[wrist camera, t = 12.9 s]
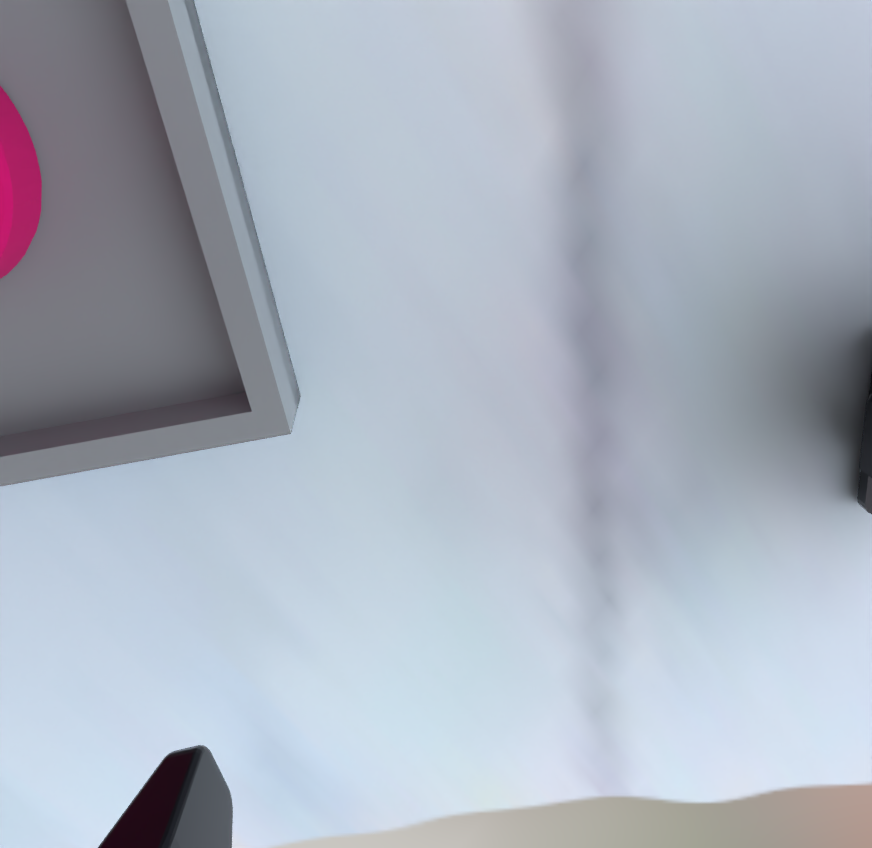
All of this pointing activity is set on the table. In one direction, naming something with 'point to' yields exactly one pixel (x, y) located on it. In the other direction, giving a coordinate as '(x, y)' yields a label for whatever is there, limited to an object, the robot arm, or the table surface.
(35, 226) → the pepper mill
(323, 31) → the table surface
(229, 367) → the tray
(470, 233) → the table surface
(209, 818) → the robot arm
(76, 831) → the table surface
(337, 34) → the table surface
